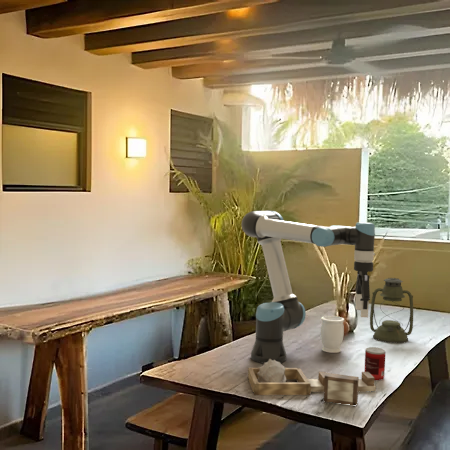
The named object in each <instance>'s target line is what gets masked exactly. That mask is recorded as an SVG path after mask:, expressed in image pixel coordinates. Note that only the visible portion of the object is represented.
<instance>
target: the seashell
mask: <svg viewBox="0 0 450 450" xmlns="http://www.w3.org/2000/svg"><path fill="white" fill-rule="evenodd" d="M258 368H259V372H258V373H257V374H258V376H259V378H258V379H257V381H258V382H286V381H287V379H286V377H285V368H286V366H284V365H283V364H282V363H280V362H277V361H275V360H271V359H269V361H268V362H266V363H263V365H262V366H260V367H258Z"/></svg>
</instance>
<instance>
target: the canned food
mask: <svg viewBox="0 0 450 450" xmlns="http://www.w3.org/2000/svg"><path fill="white" fill-rule="evenodd" d="M385 367H386V350H385V349H384V348H382V347H376V346H375V347H373V346H372V347H371V346H370V347H366V348H365V353H364V371H363V372H369V373H370V374H371V375H372V376H373V377H374V378H375V381H377V382H378V381H382V380H384V379H385V371H386V370H385V369H386V368H385Z"/></svg>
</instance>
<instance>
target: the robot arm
mask: <svg viewBox="0 0 450 450" xmlns="http://www.w3.org/2000/svg"><path fill="white" fill-rule="evenodd" d="M241 228H242V229H241V230H242V232H244V233H245V235H246V236H249V237H250V238H256V240H257V243H258V244H259V245H261V249H262V251H263V252H262V253H263V256H264V259H265V265H266V268H267V273H268V277H269V282H270V283H269V284H270V287H271V291H272V295H273V299H272V300H271V301H270V302H263V303H261V304H259V305H258V306H257V308H256V313H255V320H256V321H255V341H254V344H253V346H252V349H251V351H250V359H251V360H252V361H254V362H256V363H259V364H264V363H266V362H268V361H269V359H271V360H275V361H277V362H280V363H281V364H282V363H285V362H286V361H287V351H286V349H285V344H284V332H286V331H289V330H294V329H297V328H298V327H300V326H301V325H303V323H304V322H305V319H306V317H307V316H306V315H307V314H306V313H307V312H306V309H305V306H304V305H303V304H302V303H301V302H300V301H299V299H298V296H297V295H296V294H294V293H293V288H292V286H291V285H292V284H291V282H290V276H289V273H288V272H289V271H288V268H287V263H286V259H285V255H284V251H283V247H282V243H281V240H283V239H284V240H288V241H293V242H294V241H295V242H300V243H306V244H313V245H315V246H317V247H324V248H326V247H331V246H341V245H346V246H347V245H348V246H354V253H353V254H354V257H353V260H354V262H353V270H354V271H356V273H357V274H356V281H355V283H356V284H355V290H354V291H355V308H354V309H355V311H360V318H369V304H370V303H369V301H370V300H371V297H370V296H371V294H370V293H371V292H370V275H368V273H370V272H373V271H374V262H373V261H374V256H375V255H376V253H375V236H376V227H375V224H374V223H373V222H363V221H361V222H360V221H359V222H358V221H357V222H355V226H346V225H340V224H339V225H338V224H337V225H330V226H323V225H315V224H309V223H308V224H307V223H302V222H294V221H289V220H288V221H287V220H284V217H283V216H282V215H281V214H280V213H279V212H277V211H275V210H270V209H269V210H253V211H249V212H247V213H246V214H245V215H244V216H243V218H242V219H241Z"/></svg>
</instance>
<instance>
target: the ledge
mask: <svg viewBox="0 0 450 450" xmlns="http://www.w3.org/2000/svg"><path fill="white" fill-rule="evenodd" d="M326 373H327V372H326V371H318V375H317V376H318V378H315V379H314V378H307V379H308V381H309V382H310V384H311V387H310V393H311V392H312V393H324V380H325V375H326ZM375 381H376V380H375V378H374V377H373V376H372V375H371V374H370V373H369V372H364V371H361V377H360V378H359V382H358V393H360V392H361V393H367V392H366V391H370V393H372V392H371V391H376V392H377V386H376V385H375ZM359 391H360V392H359Z"/></svg>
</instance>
